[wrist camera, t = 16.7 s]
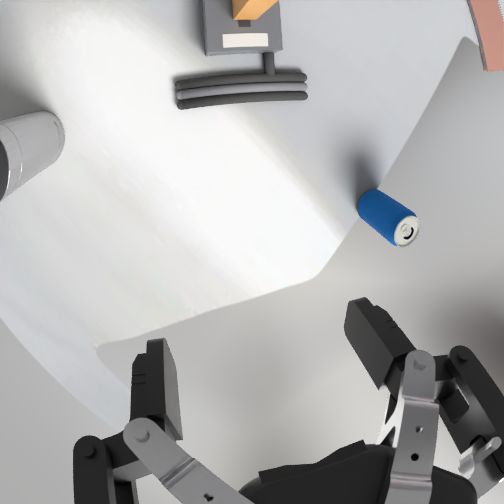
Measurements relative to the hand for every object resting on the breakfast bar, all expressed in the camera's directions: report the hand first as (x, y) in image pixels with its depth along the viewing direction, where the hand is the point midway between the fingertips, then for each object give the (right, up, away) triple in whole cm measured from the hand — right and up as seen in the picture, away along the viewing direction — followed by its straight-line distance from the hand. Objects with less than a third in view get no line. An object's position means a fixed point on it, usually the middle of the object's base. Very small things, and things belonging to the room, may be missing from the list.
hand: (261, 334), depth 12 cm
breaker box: (-3, +40, +19) cm, 44 cm away
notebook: (+57, +60, +23) cm, 86 cm away
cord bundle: (-2, +30, +25) cm, 39 cm away
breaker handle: (-1, +35, +17) cm, 39 cm away
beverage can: (+22, +13, +42) cm, 49 cm away
